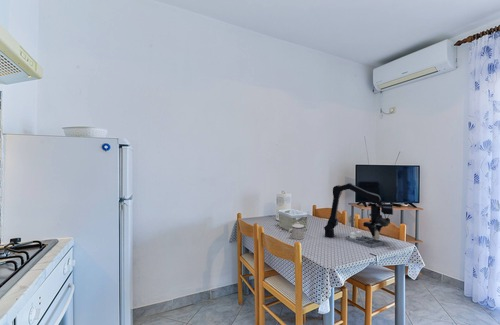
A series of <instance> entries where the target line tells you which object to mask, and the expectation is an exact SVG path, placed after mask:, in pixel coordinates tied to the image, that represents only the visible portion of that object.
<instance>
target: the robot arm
mask: <svg viewBox="0 0 500 325" xmlns="http://www.w3.org/2000/svg"><path fill="white" fill-rule="evenodd" d="M346 190H350V191H352V192H354V193H356V194H357V195H360V196H362V197H363V198H365V199H367V200H368V201H369V203H368V204H367V207H370V213H369V216H370V219H369V221H364V222H363V223H362V224H363V225H362V226H363V227H365V228H367V229H368V231H369V233H370V235H371V237H372V236H373V237H374V236H375V229H376V230H378V231H379V234H380V233H381V230H382V228H383V227H384V228H385V227H388V226H389V224H391V219H390V218H389V217H387V218H385V217H383V215H382V214H384V215H391V216H392V215H394V206H393V204H392V203H384V202H383V201H382V199H381V195H379V194H377V193H374V192H370V191H368V190H365V189H363V188H361V187H359V186H356V185H354V184H353V183H352V182H348V183H346V184H343V185H339V184H337V185H335V186H333V187H332V196H333V198H332V203H331V204H332V205H331V210H330V216H329V218H328V220H327V223H326V225H325V226H324V227H323V229H324V237H325V238H327V239H329V238H331V239H332V238H334V237H335V227H337V226H338V224H339V220H340V219H339V218H337V215H338V210H339V205H340V204H339V202H340V198H341V196H342V194H343V192H344V191H346ZM381 213H382V214H381Z"/></svg>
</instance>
